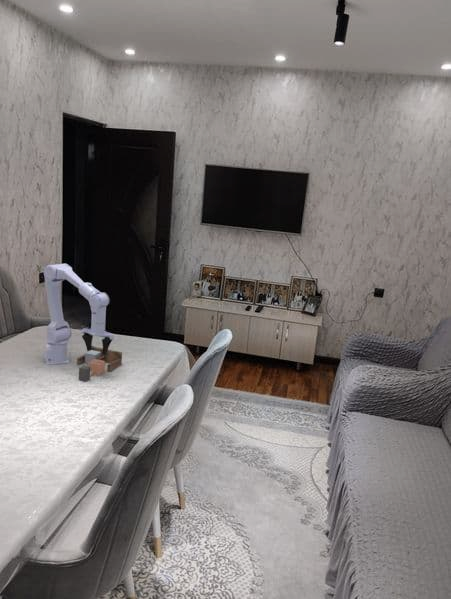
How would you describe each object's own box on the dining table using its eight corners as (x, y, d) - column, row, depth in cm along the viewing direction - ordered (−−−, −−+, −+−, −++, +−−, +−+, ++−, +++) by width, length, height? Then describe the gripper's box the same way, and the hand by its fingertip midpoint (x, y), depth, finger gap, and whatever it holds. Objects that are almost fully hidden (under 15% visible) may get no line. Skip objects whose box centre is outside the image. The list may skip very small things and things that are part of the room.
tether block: (76, 379, 191) (77, 367, 189) (94, 369, 203) (94, 357, 202) (87, 382, 189) (87, 369, 188) (104, 372, 201) (105, 360, 200)
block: (84, 363, 209) (85, 353, 208) (90, 360, 214) (91, 349, 213) (94, 365, 208) (94, 355, 207) (100, 362, 212) (100, 351, 211)
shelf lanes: (77, 364, 207) (77, 351, 205) (89, 357, 216) (90, 345, 215) (109, 371, 202) (110, 358, 201) (121, 364, 212) (122, 352, 211)
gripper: (77, 320, 193) (76, 351, 196) (108, 326, 189) (106, 358, 192) (87, 317, 199) (86, 347, 202) (117, 323, 196) (115, 353, 199)
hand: (96, 352), depth 198 cm, fingers open, 7 cm apart
